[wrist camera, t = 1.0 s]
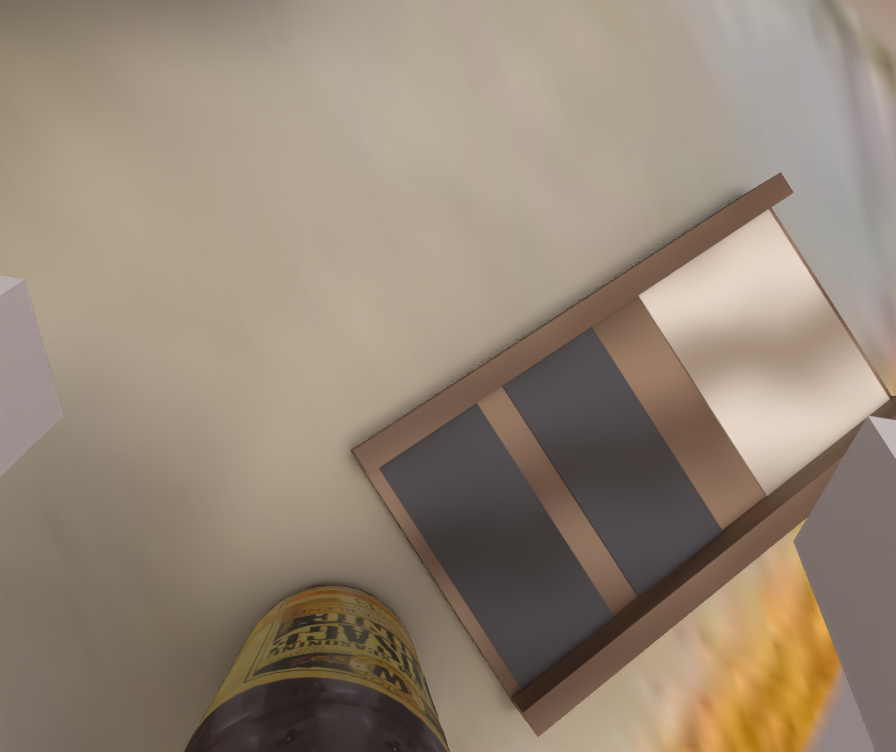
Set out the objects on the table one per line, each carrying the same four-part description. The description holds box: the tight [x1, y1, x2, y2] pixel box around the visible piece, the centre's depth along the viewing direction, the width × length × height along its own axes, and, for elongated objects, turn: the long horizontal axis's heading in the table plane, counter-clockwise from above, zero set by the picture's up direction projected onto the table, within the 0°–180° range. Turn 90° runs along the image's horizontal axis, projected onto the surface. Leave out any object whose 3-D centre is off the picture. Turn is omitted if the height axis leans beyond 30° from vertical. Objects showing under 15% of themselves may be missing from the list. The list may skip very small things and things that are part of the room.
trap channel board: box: [351, 172, 896, 736], centre depth 27 cm, size 12×21×2 cm, turn 123°
